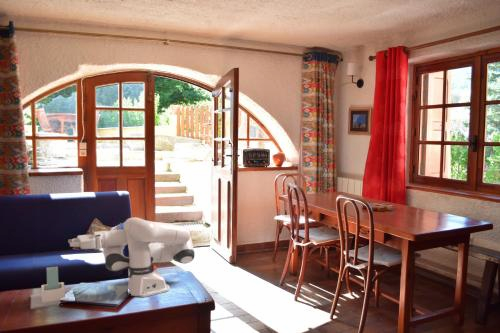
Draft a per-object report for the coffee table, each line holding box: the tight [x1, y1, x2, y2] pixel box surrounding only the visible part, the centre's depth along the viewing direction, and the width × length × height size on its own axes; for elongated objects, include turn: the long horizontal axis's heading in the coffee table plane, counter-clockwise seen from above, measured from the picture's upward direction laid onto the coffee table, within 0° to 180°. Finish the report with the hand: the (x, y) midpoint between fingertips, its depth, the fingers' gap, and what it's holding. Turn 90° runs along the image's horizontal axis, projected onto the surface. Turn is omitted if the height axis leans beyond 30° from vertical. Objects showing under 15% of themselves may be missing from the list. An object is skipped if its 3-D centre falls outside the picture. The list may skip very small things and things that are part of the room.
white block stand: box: [30, 281, 72, 310], centre depth 212 cm, size 20×18×6 cm
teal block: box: [46, 265, 59, 290], centre depth 212 cm, size 5×5×15 cm
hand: (69, 243), depth 215 cm, fingers open, 8 cm apart
